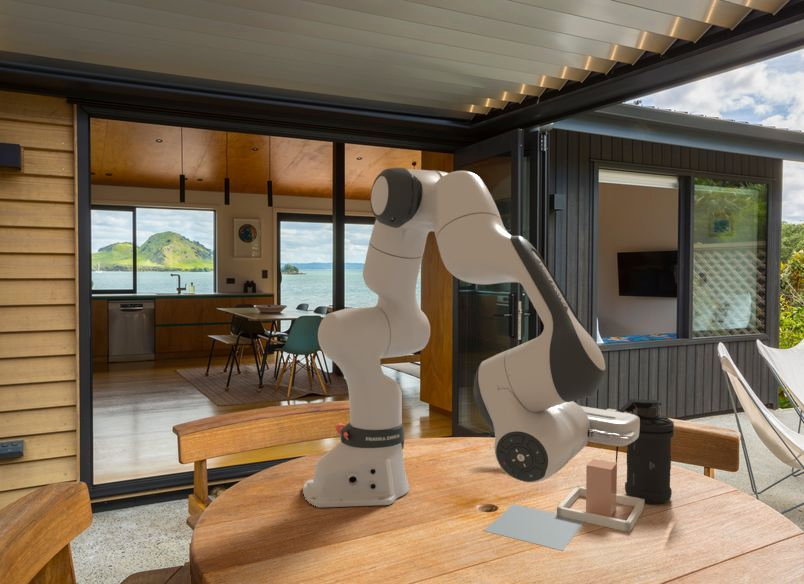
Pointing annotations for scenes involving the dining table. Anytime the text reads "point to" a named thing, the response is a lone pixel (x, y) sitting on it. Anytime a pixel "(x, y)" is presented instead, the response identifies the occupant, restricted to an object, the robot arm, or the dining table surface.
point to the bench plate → (535, 526)
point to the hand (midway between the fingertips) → (584, 409)
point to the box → (599, 519)
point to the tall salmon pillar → (601, 487)
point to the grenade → (649, 454)
